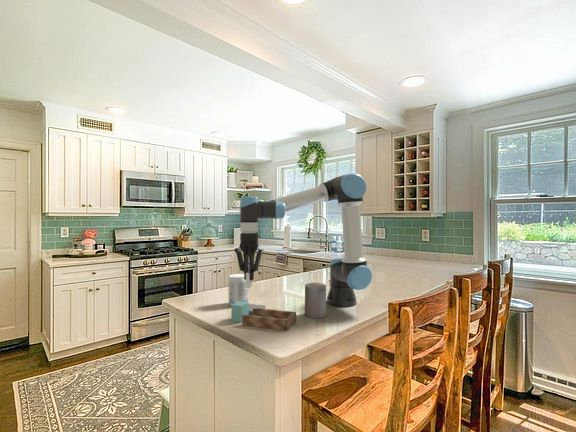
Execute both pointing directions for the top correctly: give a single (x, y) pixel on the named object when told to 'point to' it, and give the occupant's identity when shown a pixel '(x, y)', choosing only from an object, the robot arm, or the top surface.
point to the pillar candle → (315, 300)
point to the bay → (270, 319)
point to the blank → (239, 311)
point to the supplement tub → (237, 289)
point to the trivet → (254, 307)
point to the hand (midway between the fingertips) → (248, 287)
